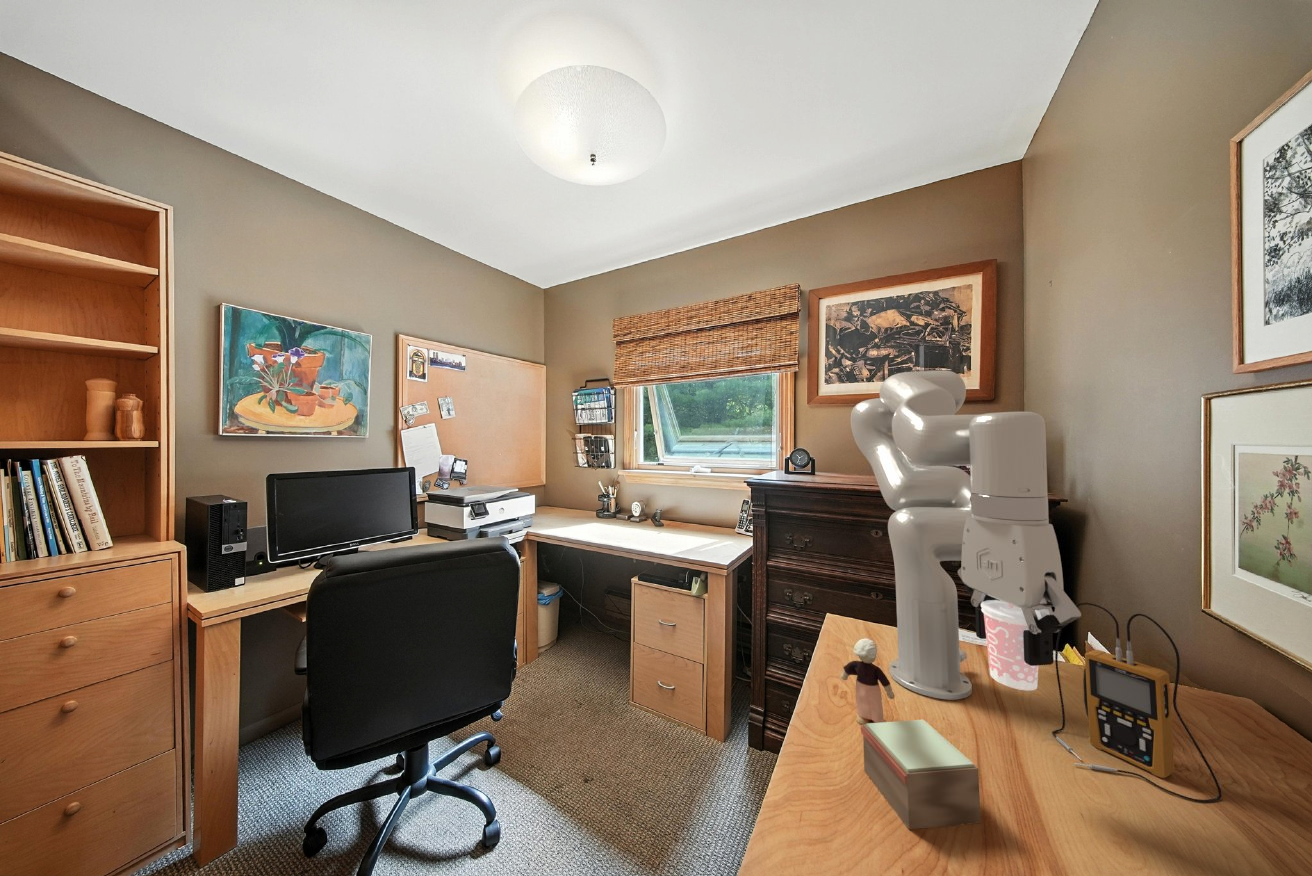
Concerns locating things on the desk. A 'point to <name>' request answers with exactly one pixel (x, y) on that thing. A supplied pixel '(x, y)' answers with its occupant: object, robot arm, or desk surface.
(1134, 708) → the multimeter
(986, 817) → the desk surface
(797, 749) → the desk surface
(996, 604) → the beverage cup
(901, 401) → the robot arm
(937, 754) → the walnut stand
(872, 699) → the grandmother figurine
